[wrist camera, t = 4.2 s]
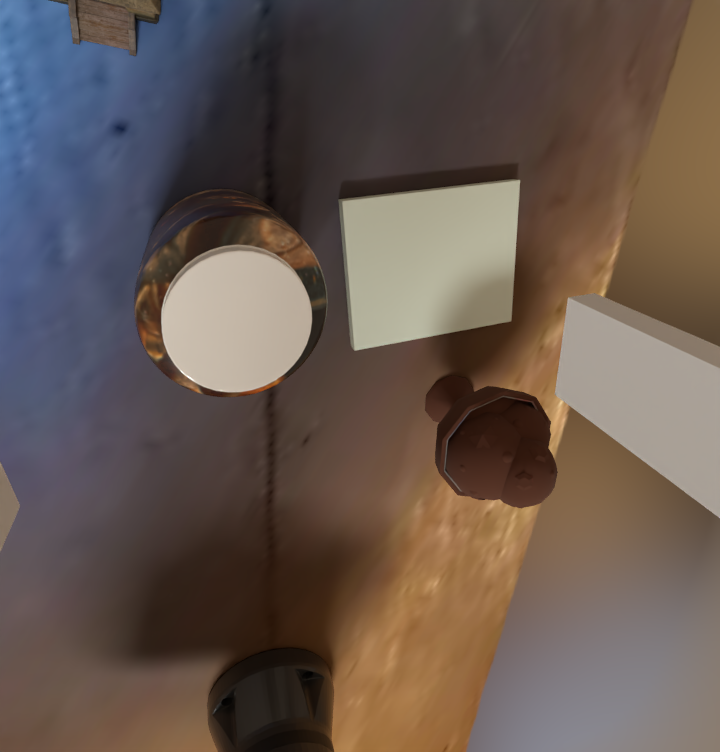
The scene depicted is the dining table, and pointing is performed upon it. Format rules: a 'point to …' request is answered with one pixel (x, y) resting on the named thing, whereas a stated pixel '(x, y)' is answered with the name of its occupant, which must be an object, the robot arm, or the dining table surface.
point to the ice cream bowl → (492, 442)
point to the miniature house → (110, 20)
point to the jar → (228, 295)
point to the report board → (429, 261)
